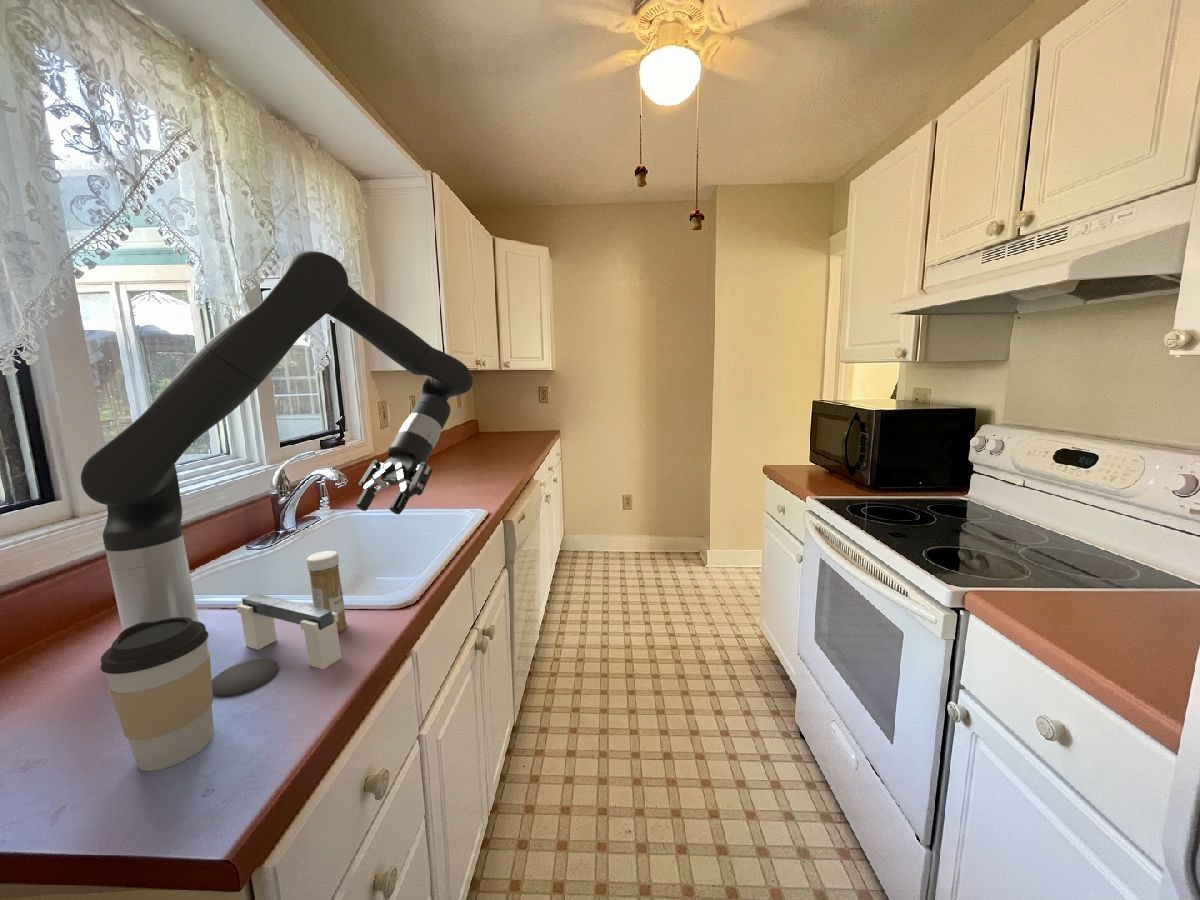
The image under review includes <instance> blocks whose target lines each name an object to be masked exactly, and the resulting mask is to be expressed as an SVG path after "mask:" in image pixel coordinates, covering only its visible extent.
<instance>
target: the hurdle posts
mask: <svg viewBox="0 0 1200 900" xmlns="http://www.w3.org/2000/svg"><path fill="white" fill-rule="evenodd" d="M236 611H237V614H240V616H241V623H242V628H243V629H242V630H243V634H244V641H245V645H246V647H247V648H250V649H254V650H257V651H258V650H261V649H263V648H265V647H267V646H268V645H270V644H272V643H274V642H276V641H278V638H277V637H278V636H277V633H276V632H277V630H276V624H275V618H272V617H268V616H265V615H261V614H257V613H253V607H251V606H247V605H243V603H242V604H241V603H240V604H237V605H236ZM332 617H333V624H331V625H329V626H327V627H326V628H324V629H322V630H319V627H318V623H315V622H311V621H307V620H303V621H301V622H300V624H301V625H300V624H299V625H300V629H301V630H302V631H303V632H304V639H305V645H306V651H307V658H308V664H309V665H308V666H310V667H313V668H316V669H319V670H325V669H327V668H328V667H329V666H331V665H333V664H335V663H336V662H338V661H340V660H341V659H342V654H341V647H340V641H339V639H340V638H339V633H338V631H337V623H336V622H337V621H338V620H339V619H338V613H336V612H332Z"/></svg>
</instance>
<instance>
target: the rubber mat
mask: <svg viewBox="0 0 1200 900" xmlns="http://www.w3.org/2000/svg"><path fill="white" fill-rule="evenodd" d="M278 670H279V663H278V662H277V660H276V659H273V658H268V657H265V658H263V657H262V658H255V659H251V660H246V661H243V662H239V663H237V664H235V665H232V666H230V667H228V668H226V669H224V670H223V671H221V672H220V673H218V674H217V675H215V676H214V677H213V678H212V692H213V697H217V698H220V697H221V698H225V697H233V696H238V695H241V694H245V693H247V692H250V691H253V690H255V689H257V688H260V687H261V686H263V685H264V684H266V683H268V682H269V681H270V680H272V679H273V678H274V677H275V676H276V674H277V673H278Z"/></svg>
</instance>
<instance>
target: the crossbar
mask: <svg viewBox="0 0 1200 900" xmlns="http://www.w3.org/2000/svg"><path fill="white" fill-rule="evenodd" d="M241 602H242V604H243V605H247V606H251V607H253V613H257V614H261V615H265V616H268V617H272V618H274V619H277V620H279V621H284V622H289V623H292V624H296V625H300V626H301V624H300V622H301V621H303V620H307V621H311V622H315V623H318V627H319V630H322V629H324V628H326V627H327V626H329V625H331V624H333V617H332V611H330V610H326V609H322V608H317V607H314V605H313V606H312V605H308V604H303V603H301V602H300V603H299V602H295V601H292V600H291V601H290V600H287V599H282V598H277V597H273V596H270V595H269V596H268V595H264V594H260V593H255V592H254V593H252V594H249V595H246V596H245V597H242V598H241Z"/></svg>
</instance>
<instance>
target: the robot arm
mask: <svg viewBox="0 0 1200 900" xmlns="http://www.w3.org/2000/svg"><path fill="white" fill-rule="evenodd" d="M279 274H280V279H279V281H278V282H277V284H276V285H275V286H274V288H273V289H272V290H271V291H270V292H269V293H268V294H267V296H266V297H265V298H264V299H263V300H262V301H261V302H260V303H259V304H257V306H256V307H254V308H253V309H251V310H250V311H249V312H248V313H246V314H244V315H243V316H241V317H240V318H238V319H237V320H235V321H234V322H231V323H230V324H229V325H228V326H226V327H225V328H223V329H222V330H221V331H219V332H218V333H217V334H215V336H213V337H212V338H211V339H210V340H208V342H207V343H205V345H203V346H202V347H201V348H200V349H199V350H198V351H197V352H196V353H195V355H193V357H192V358H191V359H190V360H189V361H188V362H187V363H185V364H184V366H183V367H182V368H181V369H180V370H179V372H178V373H177V374H176V375H175V376H174V377H173V378H172V379H171V381H170V382H169V383H168V384H167V385H166V386H165V387H164V389H163V390H162V391H161V392H160V393H159V394H158V395H157V396H156V397H155V400H153V402H152V403H151V404H150V405H149V407H148V408H147V409H146V410H145V411H144V412H143V413H142V414H141V415H140V416H139V417H138V418H137V419H135V420H134V422H132V423H131V424H130V425H129V426H128V427H126V428H125V429H124V430H122V431H121V432H120V433H119V434H118V435H116V437H114V438H113V439H111V440H110V441H109V442H108V443H107V444H105V445H103V446H102V447H100V449H99V450H98V451H96V452H95V453H94V454H92V455H91V456H90V457H89V458H88V459H87V461H86V462H84V465H83V467H82V470H81V475H80V484H81V487H82V490H83V491H84V492H85V494H86V495H87V496H88V497H89V499H91V500H92V501H94V502H96V503H99V504H102V505H104V506H106V507H107V509H106V510H107V517H106V523H105V526H104V529H103V533H102V541H103V545H104V549H105V554H106V559H107V563H108V567H109V572H110V577H111V582H112V587H113V592H114V596H115V600H116V605H117V607H116V608H117V610H118V616H119V620H120V625H121V630H122V631H124V630H125V629H127V628H129V627H131V626H134V625H136V624H138V623H143V622H155V621H159V620H163V619H169V618H175V617H187V618H190V619H192V620H193V621H197V622H199V617H198V611H197V605H196V600H195V594H194V589H193V588H194V587H193V584H192V578H191V573H190V572H191V571H190V565H189V561H188V557H187V551H186V546H185V541H184V535H183V530H182V520H183V506H182V498H181V491H180V483H179V479H178V473H177V468H176V465H175V464H176V463H177V462H178V460H179V459H180V458H181V456H182V455H183V454H184V453H185V452H186V451H187V450H188V449H189V448H190V446H191V445H193V443H195V441H196V440H198V438H200V437H201V436H203V435H204V434H205V433H206V432H208V431H209V430H211V428H213V427H214V426H215V425H217V424H219V422H221V421H222V420H223V419H224V418H226V417H227V416H228V415H229V414H231V413H232V412H234V411H235V410H236V409H237V408H238V407H239V406H240V405H241V404H242V403H243V402H245V401H246V400H247V399H248V398H249V397H250V395H252V393H253V392H254V391H255V390H256V389H257V388H258V386H260V385H261V383H263V382H264V380H266V378H267V377H268V376H269V375H270V373H271V372H272V371H273V370H274V368H275V367H276V366H278V364H280V362H282V359H283V358H284V357H285V356H286V354H287V353H288V352H289V351H290V350H291V348H292V347H293V346H294V345H295V343H296V342H297V341H298V340H299V338H301V337H302V336H303V334H305V332H307V331H308V330H309V329H310V328H311V327H312V326H314V325H315V324H316V323H317V322H318V321H319V320H321V318H323V317H324V316H325V315H328V316H331V317H332V318H334V319H335V320H337V321H339V322H340V323H342V324H343V325H345V326H347V328H349V329H351V330H353V332H355V333H357V334H358V335H359V336H361V337H362V338H363V339H365V340H366V341H367V342H368V343H370V344H371V345H372V346H374V347H375V348H376V349H377V350H379V351H380V352H381V353H383V354H384V355H386V356H387V357H388V358H390V359H391V360H392V361H394V362H395V363H397V365H399V366H401V367H402V368H403V369H405V370H406V371H407V372H409V373H411V374H412V375H416V376H425V377H424V379H423V381H422V385H421V388H420V393H419V397H418V400H417V402H416V404H415V405H414V406H413V409H412V410H411V412H410V414H409V415H408V417H407V418H406V419H405V420H404V422H403V424H402V425H401V427H400V428H399V430H398V432H397V433H396V434H395V437H394V439H393V440H392V442H391V443H390V446H389V448H388V449H387V452H388V458H387V459H386V460H385V461H384V462H380V461H378V460H377V459H373V461H371V463H370V465H369V467H368V468H367V470H366V471H365V472H364V474H363V475H362V478H361V479H360V481H359V482H358V485H359V486H360V487H361V488H362V489H363V491H362V492H361V495H360V496H359V498H358V499H357V502H356V505H355V506H356V508H357V509H359V510H361V511H364V512H366V511H368V510H369V508H370V505H371V504H372V502H373V501H374V498H375V497H376V494H377V493H378V492H380V491H381V490H382V489H387V488H389V487H390V486H396V485H397V486H399V488H400V489H399V490H400V491H398V492H397V494H396V495H395V497H394V499H393V501H392V503H391V504H390V507H389V510H390V511H391V512H392V513H393V514H395V515H400V514H402V512H403V511H404V510H405V507H406V506H407V504H408V502H409V500H410V498H412V497H413V496H415V495H417V496H421V495H422V494H423V492H424V490H425V488H426V486H427V484H428V481H429V479H430V477H431V475H432V472H433V469H432V468H431V467H430V466H429V465H428V464H427V462H428V460H429V458H430V457H431V454H432V453H433V450H434V449H435V447H436V445H437V443H438V441H439V439H440V436H441V433H442V431H443V429H444V427H445V425H446V423H447V421H448V419H449V417H450V414H451V410H452V409H451V406H450V404H449V402H448V400H450V398H452V397H456V396H460V395H463V394H465V393H468V391H470V390H471V388H472V387H473V383H474V379H473V374H472V372H471V371H470V369H469V368H468V366H466V365H465V364H464V363H463V362H462V361H461V360H459V359H457V358H456V357H454V356H451V355H449V354H448V353H445V352H444V351H442V350H440V349H437V348H435V347H432V346H431V345H430V344H429V343H428V342H426V341H425V340H423V338H421V337H420V336H419V335H418V334H416V333H415V332H414V331H412V330H411V329H410V328H408V327H407V326H405V325H404V324H402V323H401V322H399V321H398V320H396V319H394V318H393V317H392V316H390V315H388V314H387V313H385V312H384V311H382V310H380V309H379V308H378V307H376V306H374V305H373V304H372V303H371V302H369V300H366V299H365V298H364V297H363V296H362V295H360V294H359V293H358V292H357V291H355V290H354V288H352V287H351V286H350V285H349V277H348V274H347V271H346V269H345V267H344V266H343V264H342V263H341V262H340V261H339V260H338V259H336V258H334V257H333V256H332V255H330V254H327V253H325V252H321V251H315V250H299V251H296V252H294V253H290V254H288V256H287V257H286V258H285V259H284V260H283V261H282V262H281V267H280V273H279ZM381 477H382V479H383V480H382V479H381ZM369 479H370V480H369ZM376 484H377V485H376ZM122 631H121V632H122Z"/></svg>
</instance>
